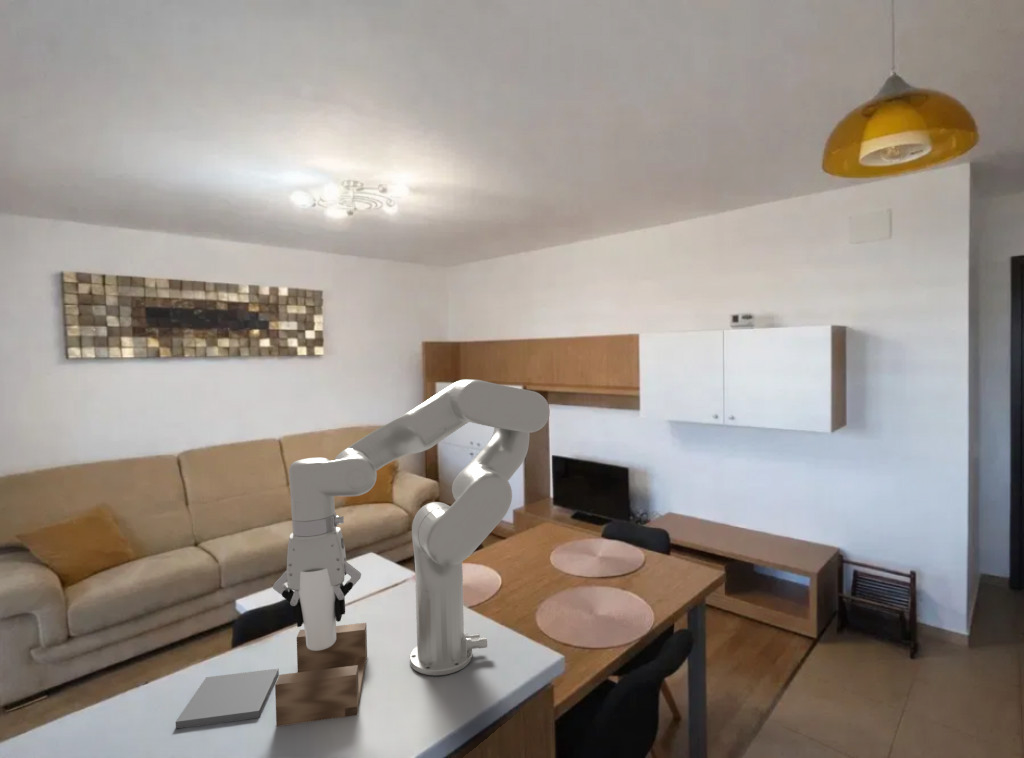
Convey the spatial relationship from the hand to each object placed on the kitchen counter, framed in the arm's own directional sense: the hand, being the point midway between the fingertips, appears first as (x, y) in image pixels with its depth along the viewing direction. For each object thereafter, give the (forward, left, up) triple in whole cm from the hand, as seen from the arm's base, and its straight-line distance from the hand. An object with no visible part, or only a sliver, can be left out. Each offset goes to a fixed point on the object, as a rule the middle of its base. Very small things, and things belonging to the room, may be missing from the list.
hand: (320, 619), depth 97 cm
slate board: (+16, 0, -13) cm, 20 cm away
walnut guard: (-1, 0, -13) cm, 13 cm away
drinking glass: (0, 0, -5) cm, 5 cm away
